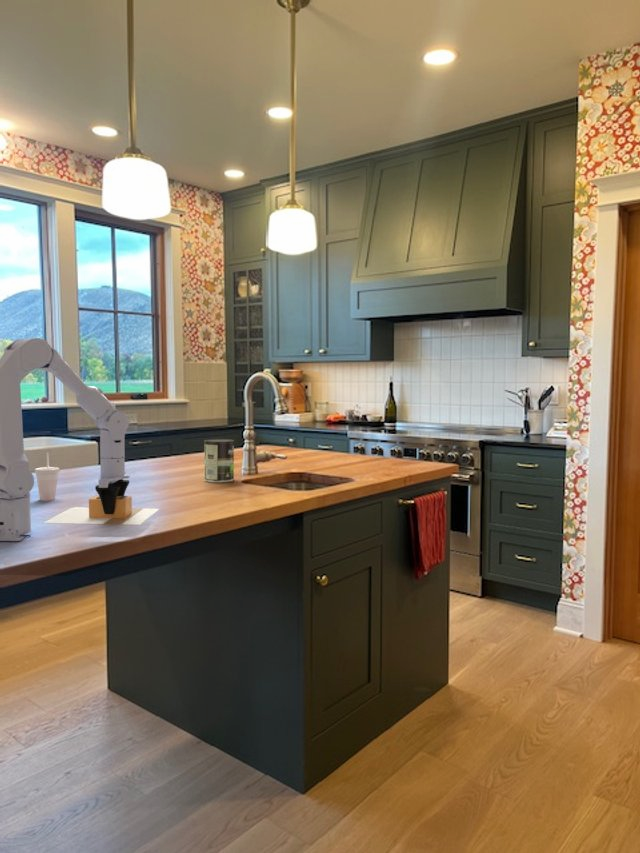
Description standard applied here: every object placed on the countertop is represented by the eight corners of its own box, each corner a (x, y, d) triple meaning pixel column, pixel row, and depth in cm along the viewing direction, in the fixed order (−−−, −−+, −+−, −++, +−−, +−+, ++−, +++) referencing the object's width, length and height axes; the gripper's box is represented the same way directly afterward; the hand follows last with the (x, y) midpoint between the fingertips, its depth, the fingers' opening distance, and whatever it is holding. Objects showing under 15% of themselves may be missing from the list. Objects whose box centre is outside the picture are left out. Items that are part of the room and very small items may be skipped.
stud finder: (125, 518, 154) (125, 498, 154) (89, 517, 154) (88, 498, 154) (131, 513, 159) (131, 495, 159) (96, 513, 159) (96, 494, 159)
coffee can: (236, 478, 224) (236, 439, 223) (231, 483, 213) (231, 441, 212) (207, 477, 224) (207, 438, 223) (201, 482, 214) (201, 441, 213)
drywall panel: (139, 528, 148) (139, 524, 148) (42, 527, 148) (42, 522, 148) (159, 512, 166) (159, 508, 166) (72, 510, 166) (72, 507, 166)
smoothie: (63, 500, 179) (62, 451, 178) (54, 505, 173) (54, 454, 172) (40, 500, 179) (39, 451, 178) (31, 504, 173) (30, 454, 172)
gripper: (119, 461, 149) (119, 518, 150) (137, 454, 163) (137, 505, 164) (89, 461, 149) (90, 517, 150) (110, 453, 163) (110, 505, 164)
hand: (113, 511), depth 157 cm, fingers closed on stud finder, 5 cm apart
